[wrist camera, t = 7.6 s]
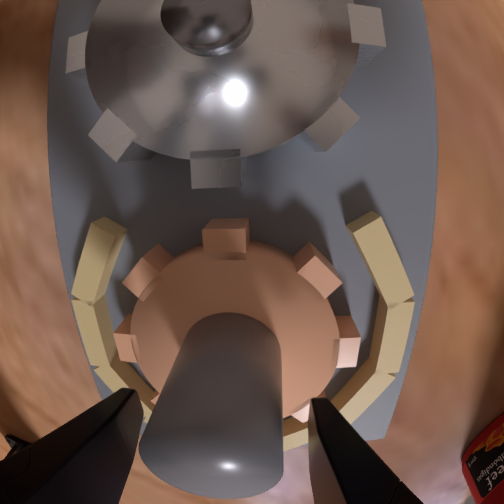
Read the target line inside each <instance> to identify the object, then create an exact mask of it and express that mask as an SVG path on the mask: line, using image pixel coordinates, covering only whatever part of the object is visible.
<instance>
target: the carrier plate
mask: <svg viewBox="0 0 504 504" xmlns="http://www.w3.org/2000/svg"><path fill="white" fill-rule="evenodd" d="M353 1H354V4H356V5H364V6H371V7H377V8H381V13H382V19H383V26H384V33H385V41H386V48H384V49H383V50H382V51H381V52H380V53H379V54H378V55H377V56H375V57H374V58H373V59H372V60H371V61H370V62H369V63H368V64H367V65H365V66H364V67H363V68H362V69H361V70H358V69H354V71H353V73H352V75H351V77H350V79H349V81H348V83H347V85H346V87H345V89H344V90H343V92H342V93H341V94H340V96H339V97H340V98H341V99H342V100H343V101H344V102H345V103H346V104H347V105H348V106H349V107H350V108H351V109H352V110H353V111H354V112H355V113H356V114H357V115H358V116H359V117H360V119H359V120H358V121H357V122H356V123H355V124H354V125H353V126H352V127H351V128H350V129H349V130H348V131H347V132H346V133H345V134H344V135H343V136H342V137H341V138H340V139H339V140H338V141H337V142H336V143H335V144H334V145H333V146H332V147H331V148H330V149H329V150H328V151H327V152H314V153H313V152H312V151H311V150H310V149H309V148H308V147H307V146H306V145H305V144H303V143H302V142H301V141H300V140H299V139H298V138H297V137H295V138H293V139H292V140H290V141H289V142H287V143H285V144H283V145H281V146H279V147H277V148H275V149H273V150H270V151H267V152H264V153H261V154H258V155H253V156H249V157H248V159H249V180H248V181H247V182H246V183H245V184H244V185H243V186H242V187H224V188H200V189H192V185H191V166H190V160H189V159H181V158H175V157H171V156H167V155H164V154H160V153H156V154H155V155H154V156H153V157H152V159H151V160H138V161H127V162H117V163H116V162H115V161H114V160H113V159H112V158H111V157H110V156H109V155H108V154H107V153H106V152H105V151H104V150H103V149H102V148H101V147H100V146H99V145H97V144H96V143H95V142H94V141H93V140H92V139H91V138H90V137H89V136H88V134H89V133H90V131H91V130H92V129H93V127H94V126H95V124H96V123H97V121H98V120H99V119H100V117H101V116H102V115H103V113H102V111H101V110H100V108H99V107H98V105H97V103H96V101H95V99H94V97H93V95H92V93H91V90H90V87H89V83H88V81H87V80H84V79H81V78H78V77H75V76H71V75H68V74H66V61H67V49H68V40H69V37H72V36H75V35H77V34H80V33H83V32H86V31H89V27H90V24H91V20H92V18H93V16H94V14H95V11H96V9H97V7H98V5H99V3H100V2H101V0H59V1H58V6H57V12H56V18H55V24H54V31H53V38H52V47H51V56H50V67H49V82H48V109H47V131H48V159H49V174H50V186H51V196H52V205H53V213H54V220H55V227H56V234H57V240H58V246H59V251H60V257H61V262H62V267H63V272H64V276H65V281H66V285H67V290H68V294H69V298H70V302H71V306H72V310H73V314H74V317H75V321H76V324H77V328H78V331H79V335H80V338H81V341H82V344H83V348H84V351H85V354H86V357H87V360H88V363H89V366H90V369H91V371H92V374H93V377H94V380H95V382H96V385H97V388H98V390H99V393H100V395H101V398H102V400H103V399H105V398H106V397H108V396H110V395H111V394H113V393H114V392H116V391H117V390H119V389H120V388H124V387H125V388H132V389H135V390H137V392H138V394H139V398H140V401H141V404H142V407H143V410H144V417H143V421H142V426H141V430H140V434H139V435H143V432H144V430H145V428H146V425H147V423H148V421H149V418H150V416H151V414H152V411H153V409H154V407H155V404H154V403H152V402H151V399H152V397H153V394H154V392H155V390H156V389H155V388H154V387H153V386H152V385H151V383H150V382H149V381H148V380H147V378H146V377H145V375H144V374H143V372H142V371H141V369H140V367H139V365H138V363H135V362H126V361H120V357H119V354H118V350H117V346H116V343H115V339H114V335H113V332H114V331H115V330H116V329H117V328H118V326H119V325H120V324H121V323H122V321H123V320H124V319H125V318H126V317H127V315H128V314H133V311H134V307H135V304H136V302H137V300H138V297H137V296H136V295H135V294H134V293H132V292H131V291H130V290H129V289H128V288H127V287H126V286H125V285H124V284H123V283H122V282H123V281H124V280H125V278H126V277H127V276H128V274H129V273H130V272H131V271H132V269H133V268H134V267H135V266H136V264H137V263H138V262H139V260H140V259H141V258H142V257H143V256H144V255H145V254H146V253H148V252H149V251H150V250H151V249H152V248H154V247H155V246H156V245H157V244H158V243H159V244H160V245H161V246H162V247H163V248H164V249H165V250H166V251H167V252H168V253H169V254H171V255H172V256H173V257H175V256H176V255H178V254H179V253H180V252H182V251H184V250H186V249H188V248H190V247H192V246H194V245H197V244H200V243H203V237H202V229H203V228H204V227H205V226H206V224H207V223H208V222H209V221H210V220H211V219H221V218H249V231H250V240H256V241H260V242H264V243H267V244H270V245H273V246H275V247H277V248H280V249H282V250H284V251H286V252H288V253H289V254H291V255H292V256H294V255H295V254H296V253H297V252H298V251H299V250H301V249H302V248H303V247H304V246H305V245H306V244H307V243H308V242H310V243H311V244H312V245H314V246H315V247H316V248H317V249H318V250H319V251H320V252H321V253H322V254H323V255H324V256H325V257H326V258H327V259H328V260H329V261H330V262H331V263H332V265H333V266H334V267H335V269H336V271H337V273H338V275H339V277H340V279H341V281H342V284H341V285H340V286H339V287H338V288H337V289H335V290H334V291H333V292H332V293H331V294H330V295H329V296H328V299H329V302H330V305H331V308H332V310H333V313H334V316H348V315H351V316H352V318H353V320H354V323H355V325H356V327H357V329H358V332H359V334H360V336H361V340H360V346H359V352H358V358H357V364H356V367H344V368H336V369H335V371H334V374H333V376H332V378H331V380H330V381H329V383H328V385H327V386H326V387H325V389H324V390H325V395H326V398H328V399H329V400H330V401H331V403H332V404H333V405H334V406H335V407H336V408H337V410H338V411H339V412H340V413H341V414H342V415H343V416H344V418H345V419H346V420H347V421H348V422H349V423H350V424H351V426H352V427H353V428H354V429H355V430H356V431H357V432H358V434H359V435H360V436H361V437H362V438H363V439H364V440H365V441H368V440H375V439H382V438H384V437H385V434H386V431H387V429H388V426H389V423H390V421H391V418H392V415H393V412H394V409H395V406H396V403H397V400H398V397H399V394H400V391H401V388H402V385H403V381H404V378H405V375H406V371H407V368H408V364H409V360H410V357H411V353H412V349H413V345H414V341H415V337H416V333H417V328H418V324H419V319H420V314H421V310H422V305H423V299H424V294H425V288H426V283H427V276H428V270H429V263H430V256H431V248H432V240H433V231H434V220H435V208H436V193H437V166H438V135H437V109H436V94H435V82H434V72H433V63H432V56H431V48H430V42H429V35H428V30H427V24H426V19H425V14H424V9H423V4H422V0H353ZM298 446H309V444H308V420H307V421H306V422H304V423H302V422H301V421H299V420H298V419H296V418H295V417H293V416H292V415H290V416H287V417H285V418H283V451H286V450H289V449H292V448H295V447H298Z"/></svg>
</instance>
